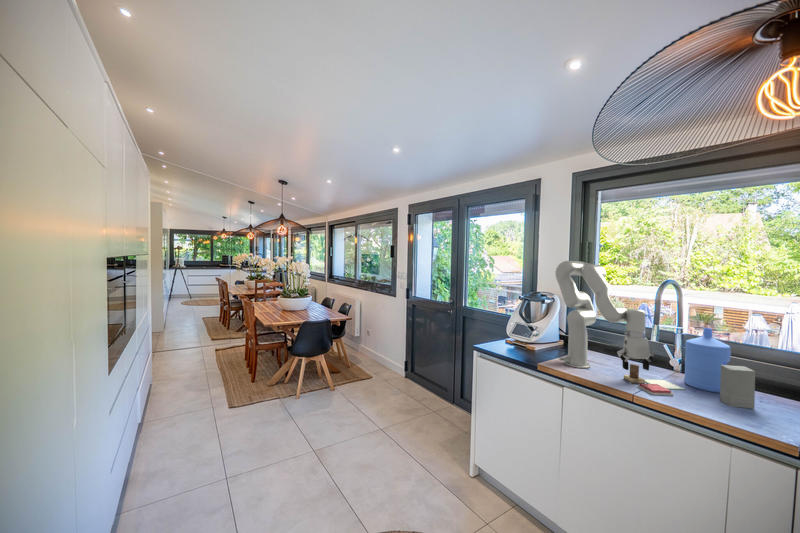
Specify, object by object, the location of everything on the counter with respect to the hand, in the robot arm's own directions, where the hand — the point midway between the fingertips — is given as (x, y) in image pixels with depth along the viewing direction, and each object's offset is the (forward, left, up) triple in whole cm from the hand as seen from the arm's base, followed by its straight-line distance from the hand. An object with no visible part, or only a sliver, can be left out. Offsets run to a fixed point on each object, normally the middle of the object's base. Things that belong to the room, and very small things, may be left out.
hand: (635, 369), depth 155 cm
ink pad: (+1, -11, -6) cm, 13 cm away
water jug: (+31, -3, -6) cm, 32 cm away
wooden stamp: (0, +1, -6) cm, 6 cm away
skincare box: (+25, -23, -6) cm, 35 cm away
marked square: (+11, -2, -6) cm, 13 cm away
